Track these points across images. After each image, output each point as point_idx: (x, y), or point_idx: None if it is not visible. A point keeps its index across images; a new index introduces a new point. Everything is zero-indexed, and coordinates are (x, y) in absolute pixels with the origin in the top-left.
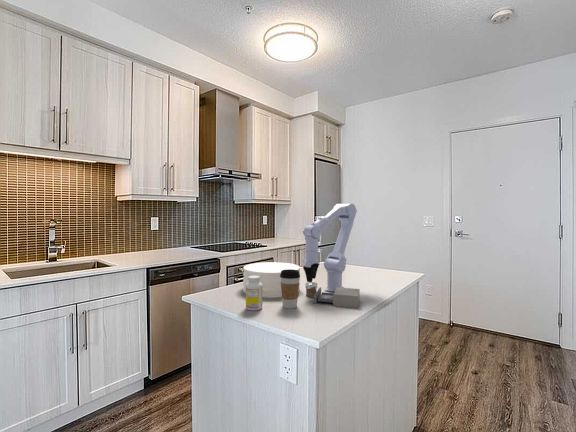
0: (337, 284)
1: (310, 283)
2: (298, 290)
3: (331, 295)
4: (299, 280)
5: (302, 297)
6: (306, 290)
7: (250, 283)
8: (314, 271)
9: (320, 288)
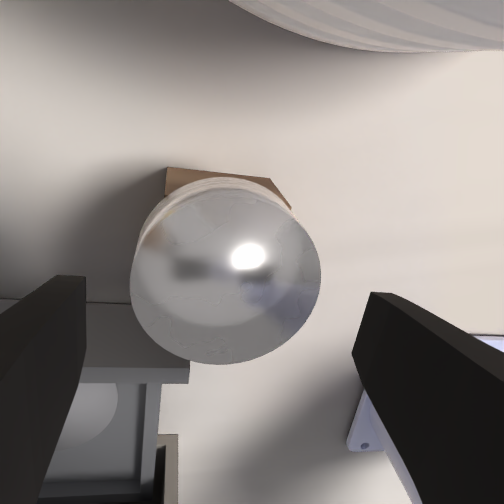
0: (396, 472)
1: (226, 275)
2: (338, 42)
3: (125, 429)
4: (472, 49)
5: (87, 127)
6: (165, 189)
7: None
8: (426, 448)
9: (139, 381)
